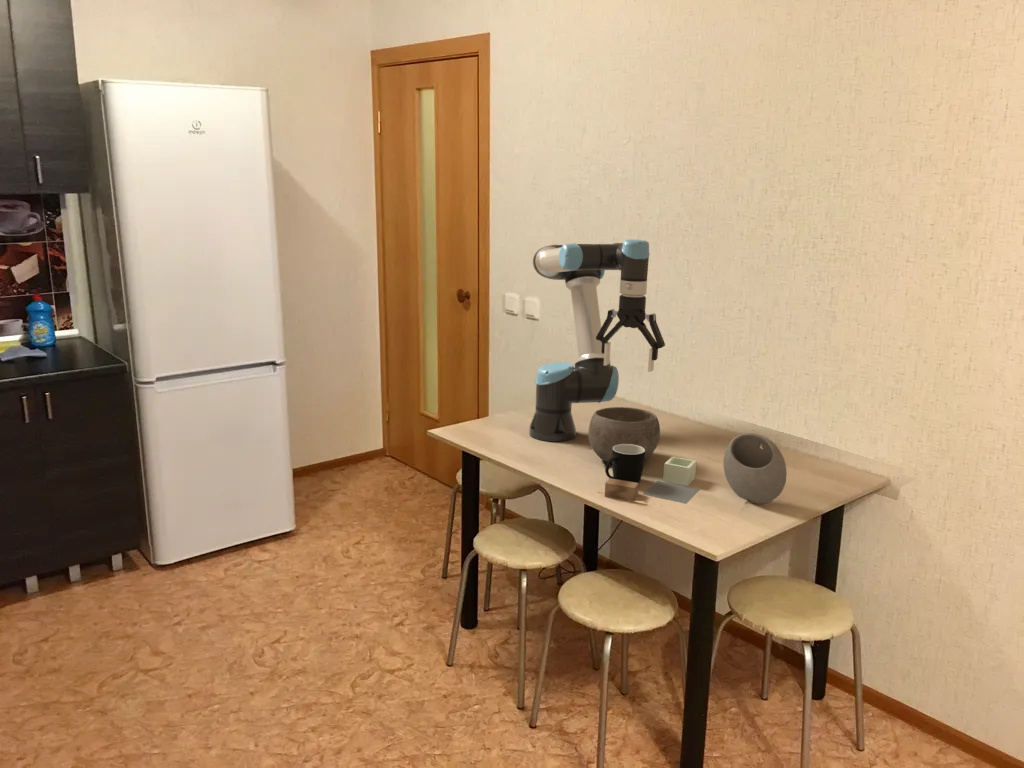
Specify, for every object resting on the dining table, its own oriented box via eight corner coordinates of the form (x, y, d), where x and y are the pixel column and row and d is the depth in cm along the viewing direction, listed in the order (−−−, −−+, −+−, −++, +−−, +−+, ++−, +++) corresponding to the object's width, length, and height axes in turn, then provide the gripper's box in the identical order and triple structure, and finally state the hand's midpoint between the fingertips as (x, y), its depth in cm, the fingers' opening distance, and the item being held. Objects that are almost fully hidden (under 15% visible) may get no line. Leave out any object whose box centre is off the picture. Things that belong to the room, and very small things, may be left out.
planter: (713, 494, 230) (719, 428, 225) (728, 488, 234) (735, 423, 230) (774, 515, 216) (781, 446, 212) (789, 509, 221) (797, 440, 216)
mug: (629, 475, 242) (631, 442, 239) (649, 486, 234) (652, 451, 232) (595, 482, 236) (597, 448, 233) (614, 493, 228) (617, 457, 226)
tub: (662, 483, 236) (664, 463, 235) (670, 476, 242) (672, 456, 241) (687, 488, 233) (688, 468, 232) (694, 481, 239) (696, 460, 238)
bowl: (616, 445, 268) (619, 399, 264) (671, 462, 254) (675, 414, 250) (573, 460, 254) (575, 411, 250) (628, 479, 240) (631, 428, 236)
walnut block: (604, 497, 226) (605, 483, 225) (608, 492, 230) (609, 478, 229) (633, 502, 223) (634, 488, 222) (637, 497, 227) (638, 483, 226)
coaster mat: (642, 497, 226) (642, 494, 226) (657, 483, 237) (657, 480, 236) (685, 506, 221) (686, 503, 221) (699, 491, 231) (699, 489, 231)
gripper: (587, 292, 244) (583, 364, 249) (671, 300, 233) (665, 376, 238) (597, 289, 250) (593, 359, 256) (679, 297, 239) (673, 370, 244)
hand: (628, 367), depth 247 cm, fingers open, 13 cm apart
